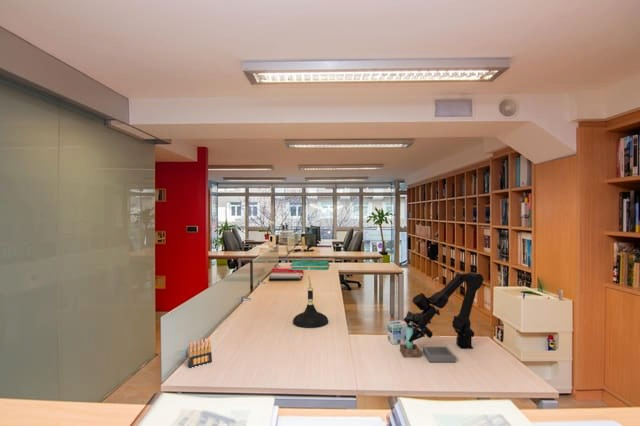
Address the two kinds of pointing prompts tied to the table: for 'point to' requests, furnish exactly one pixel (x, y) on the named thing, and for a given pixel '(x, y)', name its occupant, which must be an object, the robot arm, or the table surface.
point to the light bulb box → (397, 331)
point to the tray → (438, 355)
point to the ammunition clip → (199, 353)
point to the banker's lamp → (310, 296)
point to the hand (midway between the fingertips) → (407, 340)
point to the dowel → (408, 334)
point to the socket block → (409, 351)
